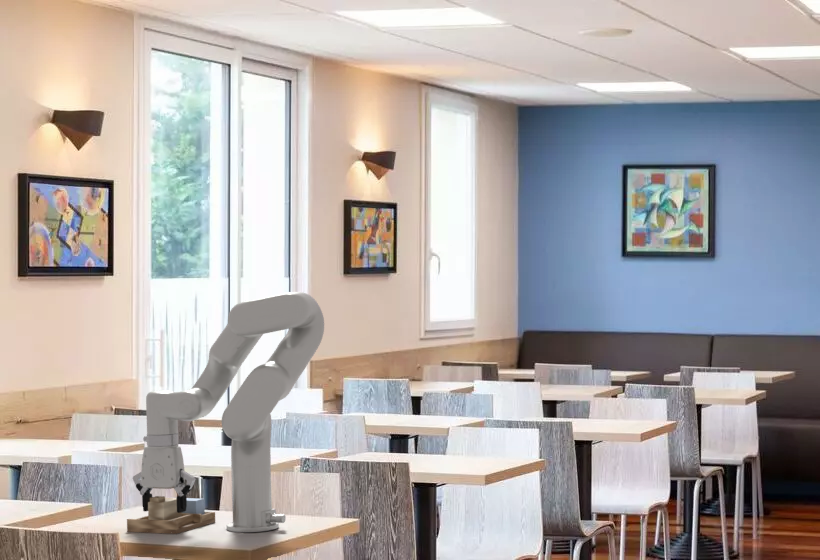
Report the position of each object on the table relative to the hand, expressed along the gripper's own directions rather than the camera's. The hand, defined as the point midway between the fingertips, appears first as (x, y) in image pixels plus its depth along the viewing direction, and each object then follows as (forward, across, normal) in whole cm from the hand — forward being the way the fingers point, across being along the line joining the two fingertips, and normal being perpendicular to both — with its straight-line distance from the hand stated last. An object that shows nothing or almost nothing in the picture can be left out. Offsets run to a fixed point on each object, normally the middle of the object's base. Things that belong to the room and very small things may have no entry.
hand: (164, 511), depth 351 cm
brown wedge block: (+3, 0, 0) cm, 3 cm away
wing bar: (+3, 0, +9) cm, 9 cm away
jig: (+4, 0, +3) cm, 5 cm away
